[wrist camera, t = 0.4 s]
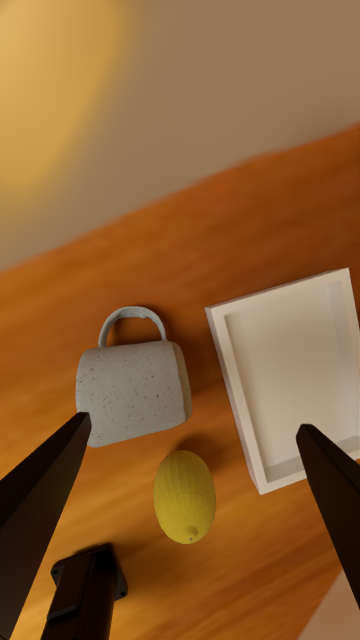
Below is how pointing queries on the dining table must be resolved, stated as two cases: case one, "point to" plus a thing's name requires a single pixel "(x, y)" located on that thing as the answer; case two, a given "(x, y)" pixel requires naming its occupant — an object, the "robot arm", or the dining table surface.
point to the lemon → (184, 497)
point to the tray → (290, 370)
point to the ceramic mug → (132, 385)
